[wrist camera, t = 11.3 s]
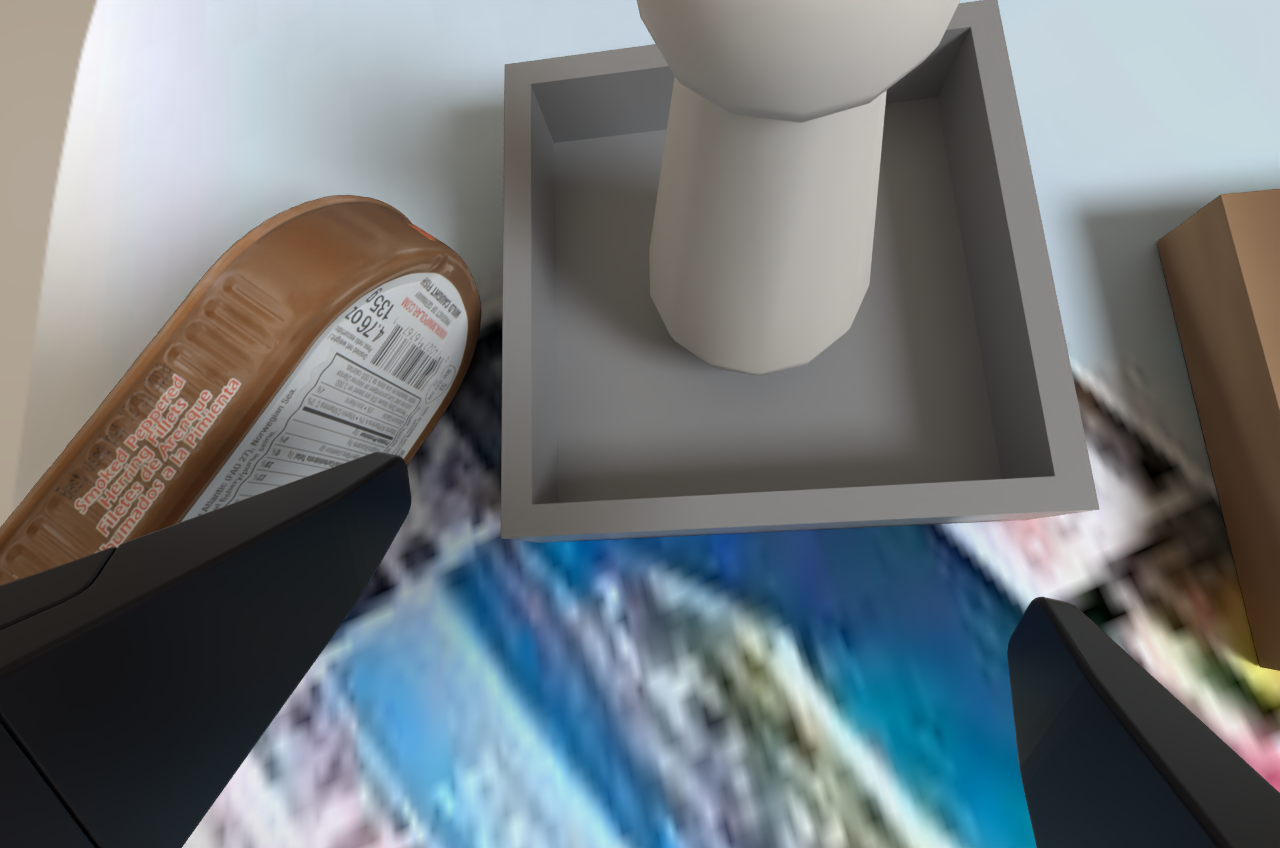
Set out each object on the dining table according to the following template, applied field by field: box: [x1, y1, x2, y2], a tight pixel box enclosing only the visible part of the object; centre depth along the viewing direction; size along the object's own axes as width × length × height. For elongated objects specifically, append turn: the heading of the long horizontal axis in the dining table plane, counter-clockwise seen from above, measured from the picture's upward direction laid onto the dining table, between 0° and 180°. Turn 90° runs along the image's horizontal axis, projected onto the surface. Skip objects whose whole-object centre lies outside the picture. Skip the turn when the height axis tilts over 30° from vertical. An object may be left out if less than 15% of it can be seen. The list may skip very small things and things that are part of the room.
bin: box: [501, 0, 1099, 543], centre depth 18 cm, size 14×14×4 cm
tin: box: [0, 195, 481, 585], centre depth 16 cm, size 15×3×8 cm, turn 146°
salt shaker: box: [637, 0, 960, 376], centre depth 13 cm, size 6×6×13 cm
